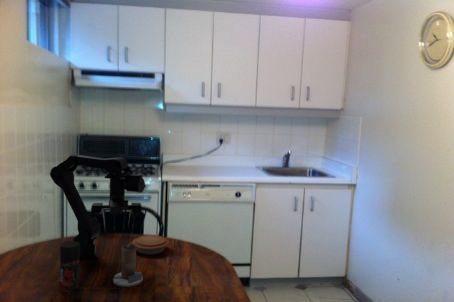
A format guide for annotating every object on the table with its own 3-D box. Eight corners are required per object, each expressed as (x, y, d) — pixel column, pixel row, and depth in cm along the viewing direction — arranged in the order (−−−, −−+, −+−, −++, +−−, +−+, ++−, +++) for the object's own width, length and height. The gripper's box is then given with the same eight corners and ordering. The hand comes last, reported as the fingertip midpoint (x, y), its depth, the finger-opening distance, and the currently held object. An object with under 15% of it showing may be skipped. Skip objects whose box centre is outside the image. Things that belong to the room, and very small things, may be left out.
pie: (144, 241, 175) (145, 231, 175) (174, 247, 170) (175, 236, 170) (124, 252, 161) (124, 241, 160) (156, 259, 156) (157, 247, 155)
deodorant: (82, 285, 130) (83, 242, 128) (70, 293, 124) (70, 248, 123) (68, 282, 132) (69, 240, 130) (55, 289, 126) (56, 245, 125)
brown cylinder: (119, 279, 133) (119, 246, 132) (124, 273, 138) (124, 242, 137) (132, 280, 133) (133, 247, 132) (137, 274, 138) (137, 243, 136)
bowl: (107, 279, 135) (108, 270, 135) (131, 271, 142) (132, 262, 142) (124, 289, 128) (124, 279, 128) (148, 280, 136) (148, 271, 136)
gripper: (89, 194, 139) (89, 236, 140) (142, 194, 143) (141, 235, 145) (92, 188, 149) (92, 227, 151) (141, 188, 154) (140, 226, 155)
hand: (116, 229), depth 150 cm, fingers open, 9 cm apart
